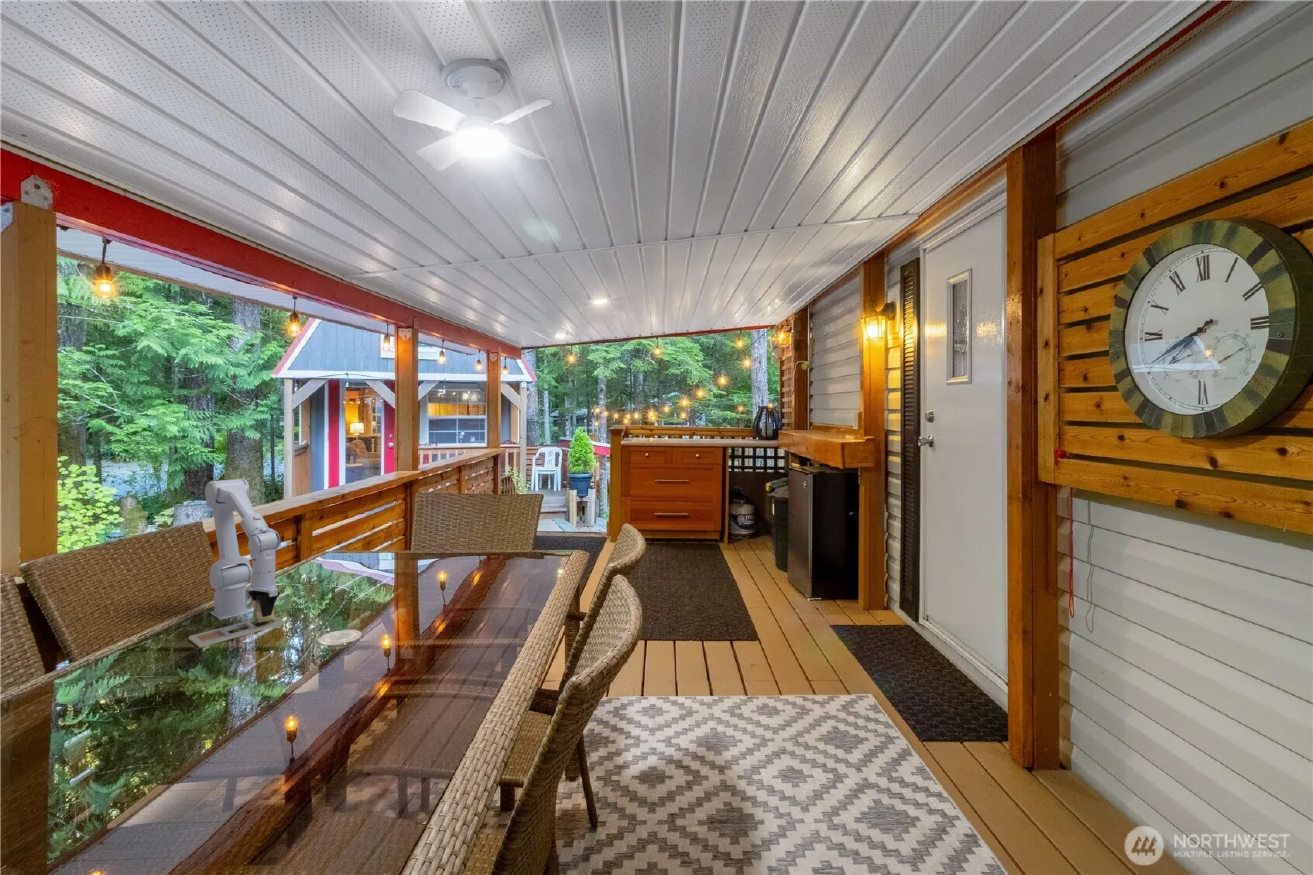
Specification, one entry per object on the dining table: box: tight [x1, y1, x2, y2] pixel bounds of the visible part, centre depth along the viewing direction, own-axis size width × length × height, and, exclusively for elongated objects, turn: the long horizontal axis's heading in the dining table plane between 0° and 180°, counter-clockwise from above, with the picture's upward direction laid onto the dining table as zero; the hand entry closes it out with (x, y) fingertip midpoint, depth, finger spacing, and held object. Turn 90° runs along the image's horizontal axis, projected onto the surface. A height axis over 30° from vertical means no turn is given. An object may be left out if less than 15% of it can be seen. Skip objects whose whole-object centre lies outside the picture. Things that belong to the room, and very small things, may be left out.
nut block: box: [252, 600, 275, 624], centre depth 161 cm, size 4×4×6 cm
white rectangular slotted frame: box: [188, 615, 285, 648], centre depth 155 cm, size 8×20×1 cm, turn 147°
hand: (263, 614), depth 161 cm, fingers closed on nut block, 4 cm apart
